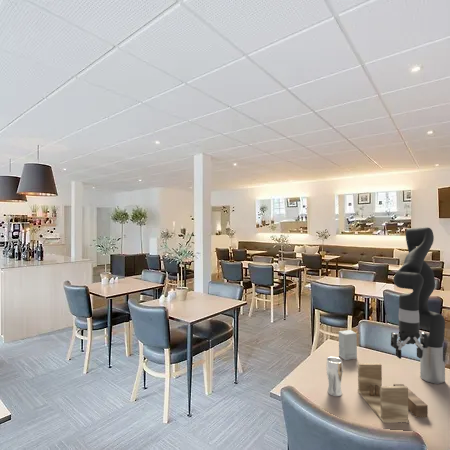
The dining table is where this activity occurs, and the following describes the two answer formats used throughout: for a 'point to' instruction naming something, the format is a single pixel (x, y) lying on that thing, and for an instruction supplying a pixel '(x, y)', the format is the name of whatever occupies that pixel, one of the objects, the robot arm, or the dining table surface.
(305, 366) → the dining table surface
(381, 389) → the peg jig
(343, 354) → the skincare box
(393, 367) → the dining table surface
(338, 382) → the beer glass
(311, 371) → the dining table surface
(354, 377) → the dining table surface
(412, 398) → the shelf board
